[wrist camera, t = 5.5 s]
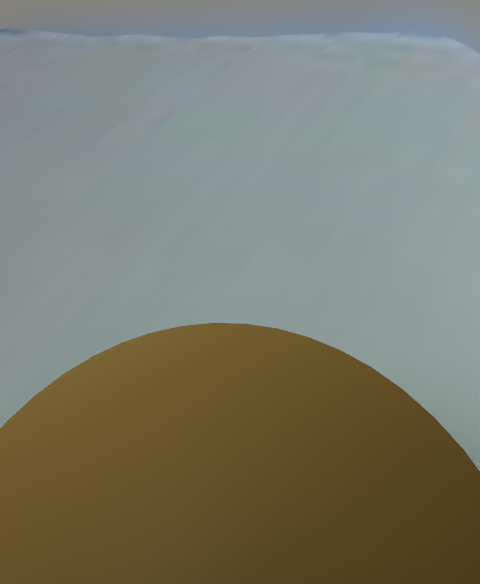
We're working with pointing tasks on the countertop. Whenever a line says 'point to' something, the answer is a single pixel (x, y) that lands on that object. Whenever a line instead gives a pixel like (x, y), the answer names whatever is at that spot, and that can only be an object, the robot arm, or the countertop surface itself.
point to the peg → (233, 470)
